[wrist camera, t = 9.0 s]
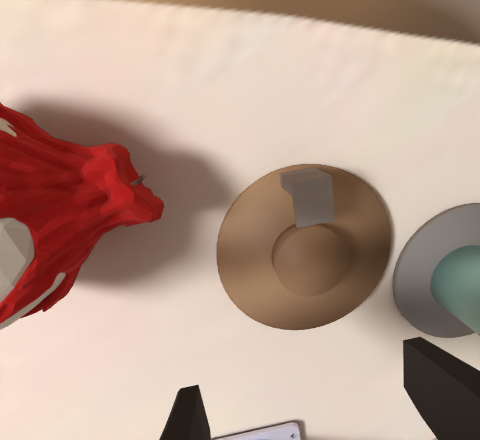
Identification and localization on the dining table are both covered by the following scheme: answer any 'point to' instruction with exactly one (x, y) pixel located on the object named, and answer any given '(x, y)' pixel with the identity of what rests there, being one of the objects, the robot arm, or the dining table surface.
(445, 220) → the coaster
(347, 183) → the tan wide-brim hat
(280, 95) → the dining table surface
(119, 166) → the multicoloured piece
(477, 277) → the kettle
